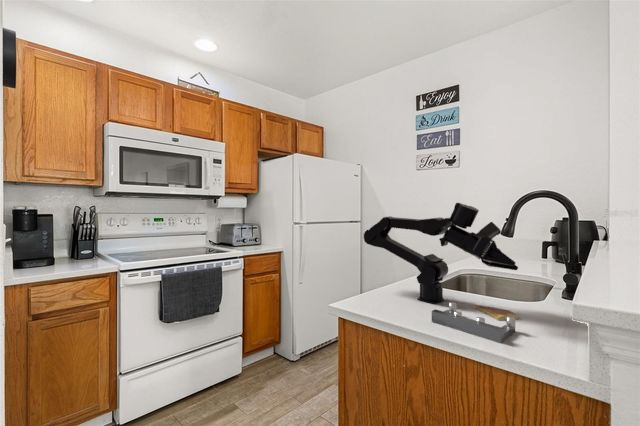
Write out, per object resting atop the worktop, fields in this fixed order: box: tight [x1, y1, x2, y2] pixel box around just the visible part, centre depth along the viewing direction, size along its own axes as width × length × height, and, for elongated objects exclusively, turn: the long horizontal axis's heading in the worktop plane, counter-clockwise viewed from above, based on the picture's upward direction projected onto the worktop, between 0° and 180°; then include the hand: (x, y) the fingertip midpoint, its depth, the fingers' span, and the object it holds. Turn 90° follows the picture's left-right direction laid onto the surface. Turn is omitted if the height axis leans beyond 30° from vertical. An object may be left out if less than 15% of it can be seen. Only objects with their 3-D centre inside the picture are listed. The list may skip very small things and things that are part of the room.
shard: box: [473, 304, 519, 321], centre depth 96 cm, size 11×8×2 cm
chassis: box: [431, 301, 516, 344], centre depth 86 cm, size 18×10×4 cm, turn 39°
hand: (516, 266), depth 91 cm, fingers open, 9 cm apart
